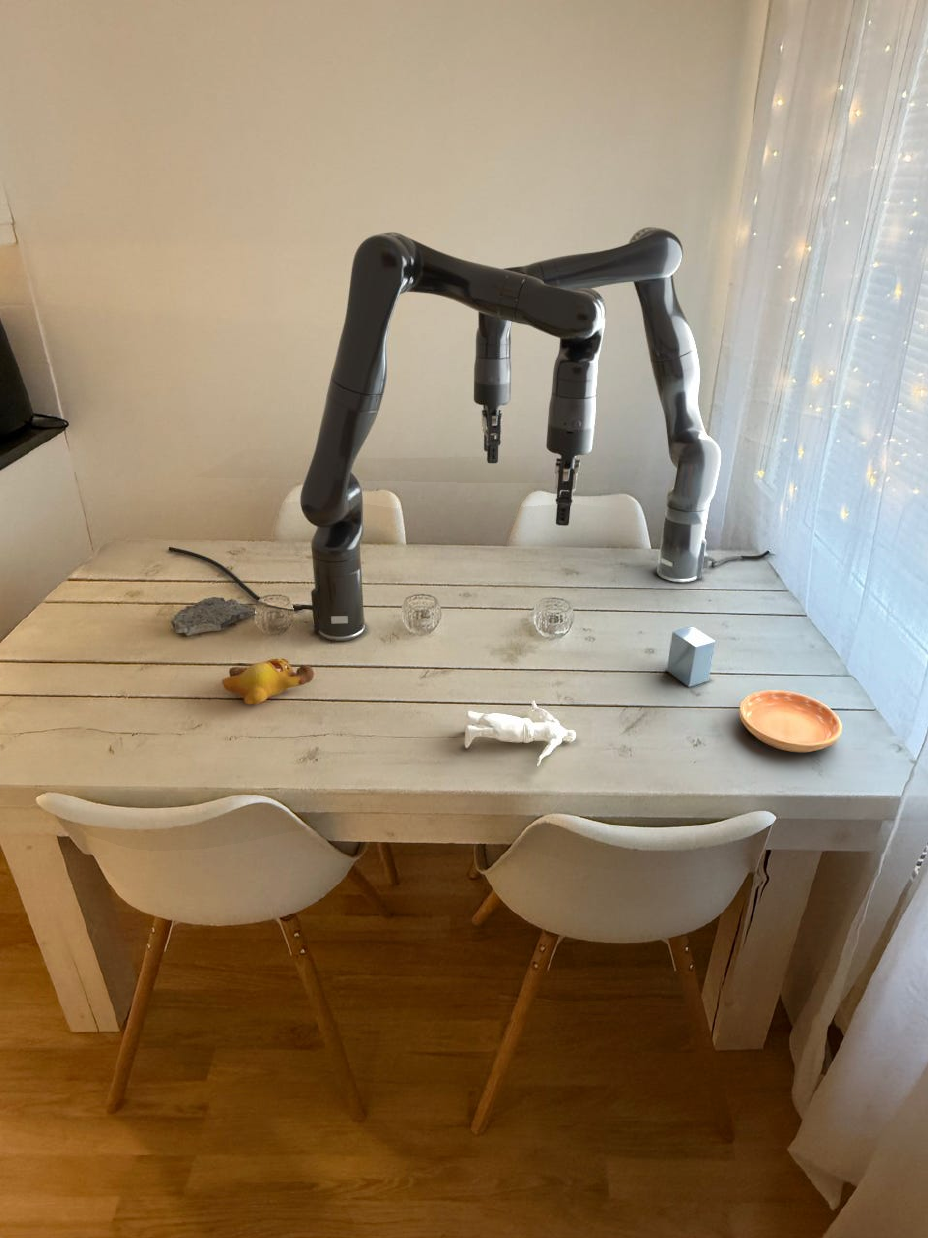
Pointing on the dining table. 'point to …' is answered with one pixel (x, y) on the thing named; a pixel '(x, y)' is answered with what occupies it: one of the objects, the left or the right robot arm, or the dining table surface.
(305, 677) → the toy
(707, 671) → the block
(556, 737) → the figurine
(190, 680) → the dining table surface
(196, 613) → the stone slab
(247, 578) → the dining table surface
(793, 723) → the saucer
